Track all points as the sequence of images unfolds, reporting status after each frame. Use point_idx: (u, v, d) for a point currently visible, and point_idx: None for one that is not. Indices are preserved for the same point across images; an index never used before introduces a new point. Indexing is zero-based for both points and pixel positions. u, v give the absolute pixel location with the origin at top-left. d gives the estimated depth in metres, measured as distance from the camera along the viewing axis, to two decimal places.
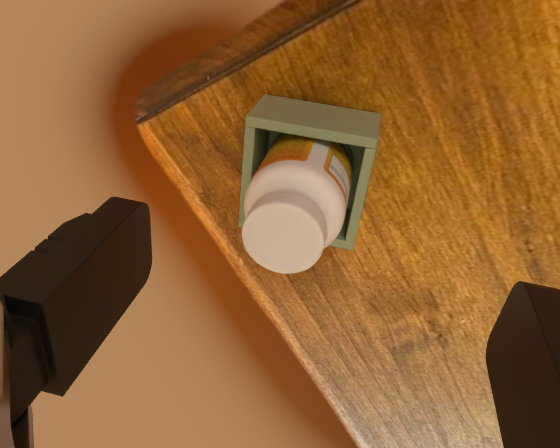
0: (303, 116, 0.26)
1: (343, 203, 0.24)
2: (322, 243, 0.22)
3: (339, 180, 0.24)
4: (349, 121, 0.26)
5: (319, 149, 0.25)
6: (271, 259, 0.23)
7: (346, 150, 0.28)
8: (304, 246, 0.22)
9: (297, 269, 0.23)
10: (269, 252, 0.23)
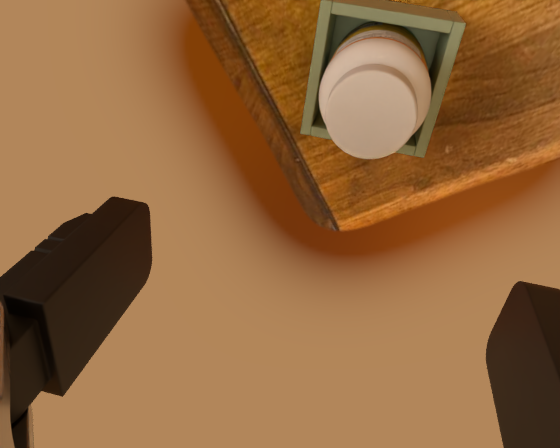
0: None
1: (364, 41, 0.22)
2: (373, 72, 0.19)
3: (347, 45, 0.23)
4: None
5: None
6: (396, 131, 0.21)
7: (353, 31, 0.26)
8: (378, 93, 0.20)
9: (410, 102, 0.20)
10: (386, 132, 0.21)
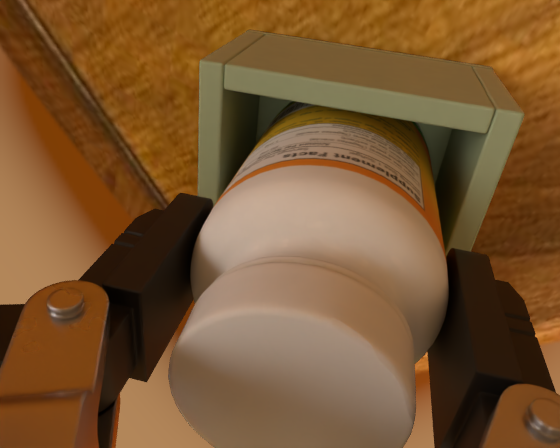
0: None
1: (280, 176, 0.09)
2: (279, 313, 0.06)
3: (249, 171, 0.10)
4: None
5: None
6: (357, 440, 0.08)
7: (288, 110, 0.13)
8: (299, 361, 0.07)
9: (392, 390, 0.07)
10: (331, 439, 0.08)
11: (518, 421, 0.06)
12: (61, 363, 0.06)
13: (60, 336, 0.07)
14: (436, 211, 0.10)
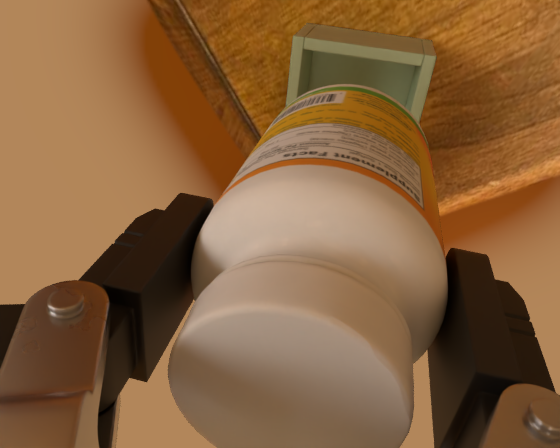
0: None
1: (280, 175, 0.09)
2: (278, 311, 0.07)
3: (249, 171, 0.10)
4: None
5: None
6: (355, 438, 0.08)
7: (289, 110, 0.13)
8: (297, 359, 0.07)
9: (390, 388, 0.07)
10: (329, 438, 0.08)
11: (518, 421, 0.06)
12: (61, 363, 0.06)
13: (60, 336, 0.07)
14: (436, 211, 0.10)
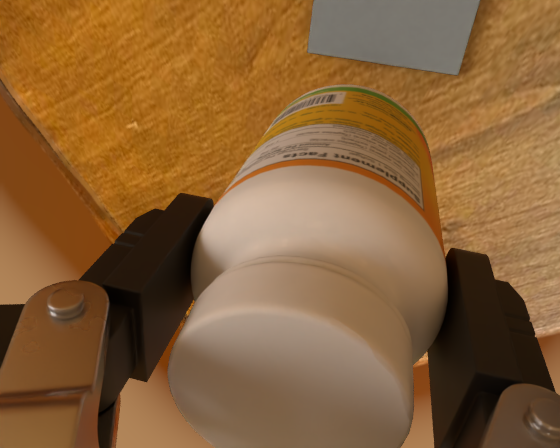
0: None
1: (280, 176, 0.09)
2: (277, 312, 0.07)
3: (249, 171, 0.10)
4: None
5: None
6: (355, 439, 0.08)
7: (289, 110, 0.13)
8: (297, 359, 0.07)
9: (390, 389, 0.07)
10: (330, 438, 0.08)
11: (518, 421, 0.06)
12: (61, 363, 0.06)
13: (60, 336, 0.07)
14: (436, 212, 0.10)
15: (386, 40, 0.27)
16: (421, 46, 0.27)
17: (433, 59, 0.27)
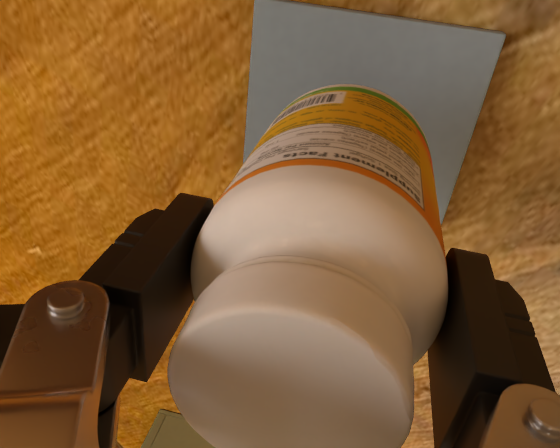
0: None
1: (280, 176, 0.09)
2: (277, 312, 0.07)
3: (249, 172, 0.10)
4: None
5: None
6: (355, 439, 0.08)
7: (289, 110, 0.13)
8: (297, 359, 0.07)
9: (390, 389, 0.07)
10: (329, 438, 0.08)
11: (518, 421, 0.06)
12: (61, 363, 0.06)
13: (60, 336, 0.07)
14: (436, 211, 0.10)
15: None
16: None
17: None
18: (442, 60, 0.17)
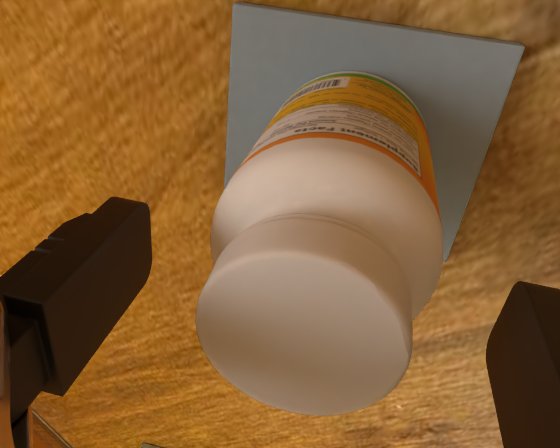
0: None
1: (292, 147, 0.10)
2: (294, 256, 0.08)
3: (263, 146, 0.11)
4: None
5: None
6: (361, 374, 0.09)
7: (296, 95, 0.14)
8: (311, 300, 0.08)
9: (392, 324, 0.08)
10: (338, 374, 0.09)
11: None
12: None
13: None
14: (433, 183, 0.11)
15: None
16: None
17: None
18: (449, 76, 0.15)
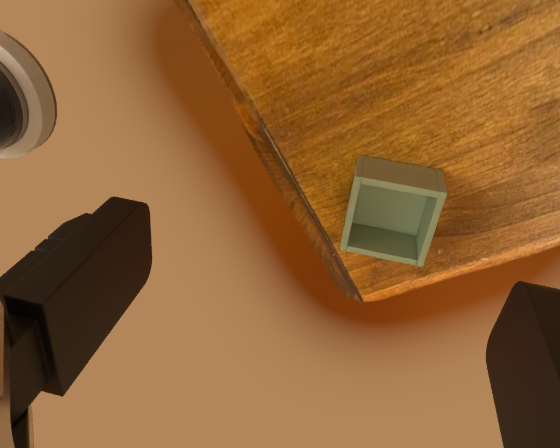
0: (346, 212, 0.41)
1: None
2: None
3: None
4: (352, 184, 0.40)
5: None
6: None
7: None
8: None
9: None
10: None
11: None
12: None
13: None
14: None
15: None
16: None
17: None
18: None
